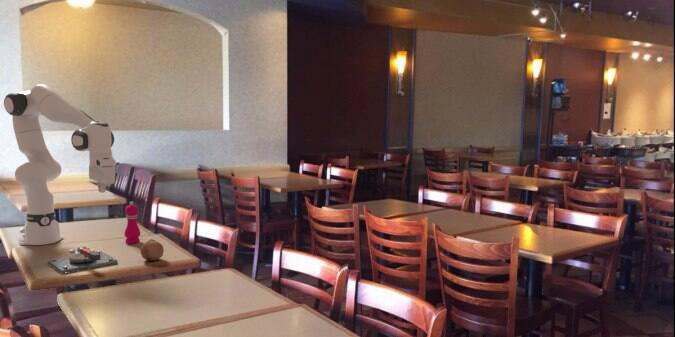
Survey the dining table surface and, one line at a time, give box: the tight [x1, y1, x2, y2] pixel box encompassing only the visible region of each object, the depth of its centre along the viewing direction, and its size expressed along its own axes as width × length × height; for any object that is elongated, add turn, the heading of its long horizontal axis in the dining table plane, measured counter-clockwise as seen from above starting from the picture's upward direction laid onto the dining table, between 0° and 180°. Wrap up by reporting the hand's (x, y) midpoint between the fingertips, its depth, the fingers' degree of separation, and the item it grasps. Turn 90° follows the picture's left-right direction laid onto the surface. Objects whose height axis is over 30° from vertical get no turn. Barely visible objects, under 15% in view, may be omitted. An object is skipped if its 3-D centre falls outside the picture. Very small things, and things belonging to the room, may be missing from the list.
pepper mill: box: [123, 201, 141, 245], centre depth 268 cm, size 7×7×20 cm
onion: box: [140, 238, 165, 262], centre depth 240 cm, size 10×9×10 cm
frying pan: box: [68, 246, 100, 263], centre depth 230 cm, size 20×10×5 cm, turn 46°
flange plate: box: [47, 250, 119, 274], centre depth 234 cm, size 18×22×2 cm
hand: (101, 192), depth 239 cm, fingers closed
